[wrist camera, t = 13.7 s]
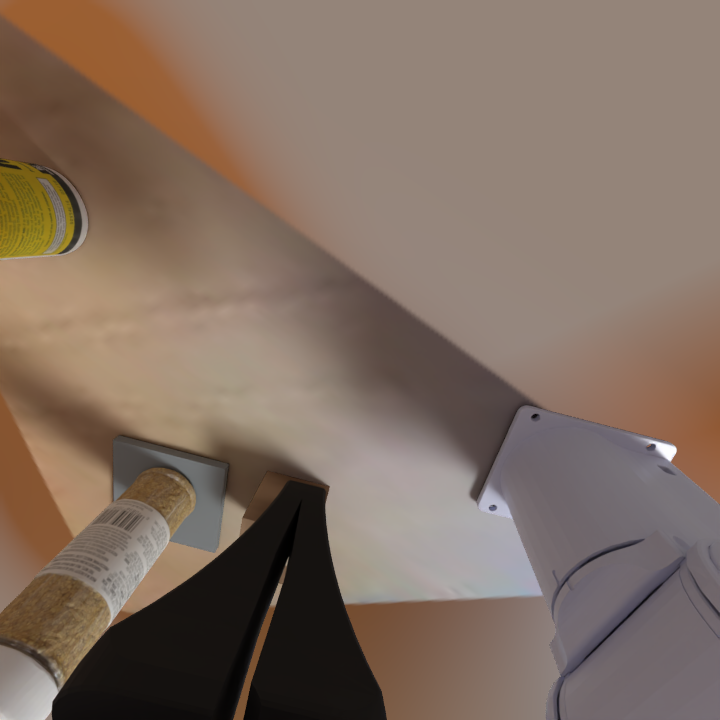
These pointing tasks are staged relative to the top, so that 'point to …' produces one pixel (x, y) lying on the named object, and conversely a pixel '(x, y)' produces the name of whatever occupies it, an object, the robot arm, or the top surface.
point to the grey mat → (199, 471)
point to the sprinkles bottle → (85, 591)
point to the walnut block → (269, 500)
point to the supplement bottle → (38, 212)
